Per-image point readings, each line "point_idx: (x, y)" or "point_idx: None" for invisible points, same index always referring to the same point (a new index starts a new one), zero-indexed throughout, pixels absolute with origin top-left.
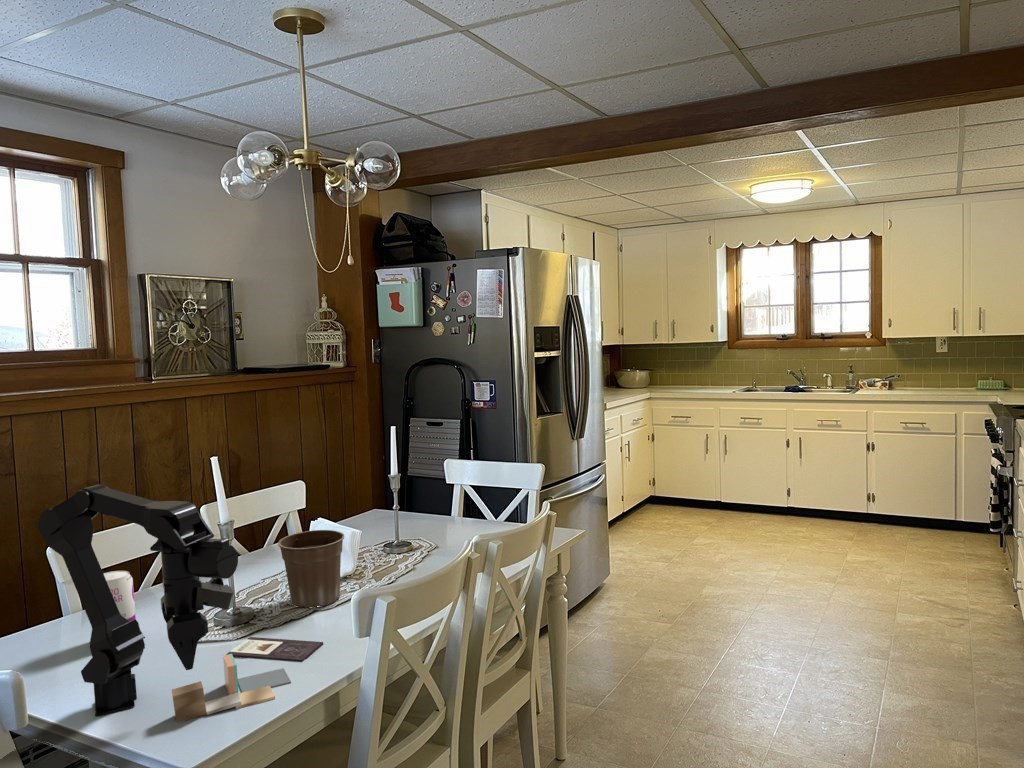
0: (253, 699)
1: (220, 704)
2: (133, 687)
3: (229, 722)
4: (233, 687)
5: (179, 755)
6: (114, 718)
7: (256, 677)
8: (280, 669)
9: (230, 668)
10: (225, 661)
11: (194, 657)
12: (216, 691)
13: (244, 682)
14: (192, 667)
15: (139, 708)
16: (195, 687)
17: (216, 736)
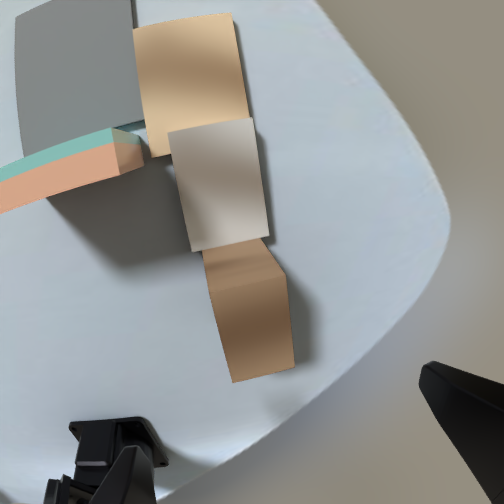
0: (223, 78)
1: (236, 192)
2: (114, 448)
3: (330, 160)
4: (136, 151)
5: (422, 274)
6: (182, 437)
7: (37, 89)
8: (20, 23)
9: (118, 160)
10: (42, 198)
11: (491, 380)
12: (80, 219)
13: (58, 125)
14: (438, 363)
15: (143, 406)
16: (264, 306)
17: (389, 196)
